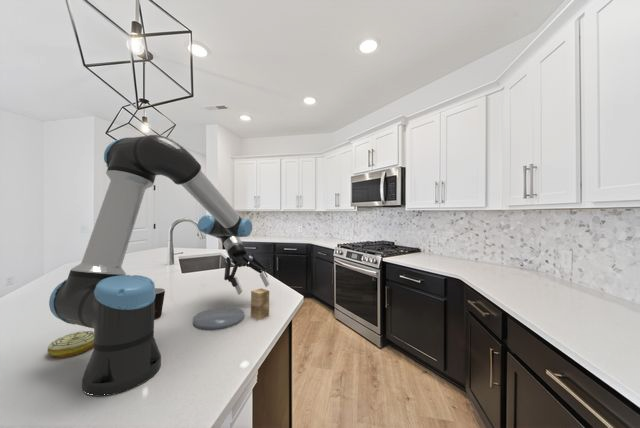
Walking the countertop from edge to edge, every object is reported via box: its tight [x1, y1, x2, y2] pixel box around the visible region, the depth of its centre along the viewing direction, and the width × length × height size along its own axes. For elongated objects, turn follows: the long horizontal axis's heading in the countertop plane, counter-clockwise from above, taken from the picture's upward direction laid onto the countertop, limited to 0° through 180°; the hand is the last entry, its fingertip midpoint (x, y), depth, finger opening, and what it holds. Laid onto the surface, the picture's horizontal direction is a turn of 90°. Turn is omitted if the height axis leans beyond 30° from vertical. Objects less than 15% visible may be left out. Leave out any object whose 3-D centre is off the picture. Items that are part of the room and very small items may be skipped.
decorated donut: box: [47, 330, 94, 358], centre depth 72 cm, size 10×11×4 cm
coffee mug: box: [154, 287, 166, 321], centre depth 94 cm, size 12×9×10 cm
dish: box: [192, 306, 245, 331], centre depth 94 cm, size 18×18×2 cm
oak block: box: [250, 288, 270, 321], centre depth 98 cm, size 5×5×10 cm
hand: (255, 288), depth 102 cm, fingers open, 13 cm apart
